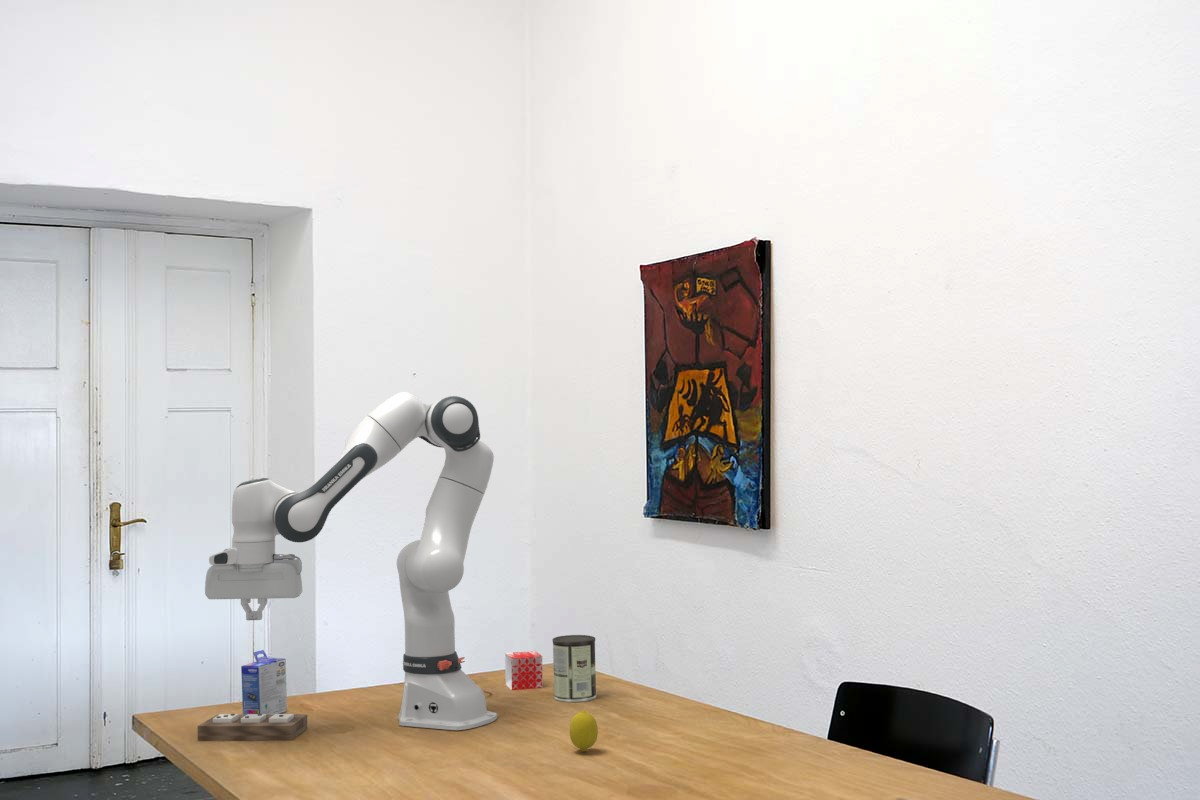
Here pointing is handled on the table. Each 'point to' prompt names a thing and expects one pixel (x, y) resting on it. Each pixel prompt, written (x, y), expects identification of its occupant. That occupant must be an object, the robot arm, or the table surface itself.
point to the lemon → (583, 730)
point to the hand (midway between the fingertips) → (254, 619)
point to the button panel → (252, 730)
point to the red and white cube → (523, 670)
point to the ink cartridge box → (264, 686)
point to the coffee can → (574, 668)
